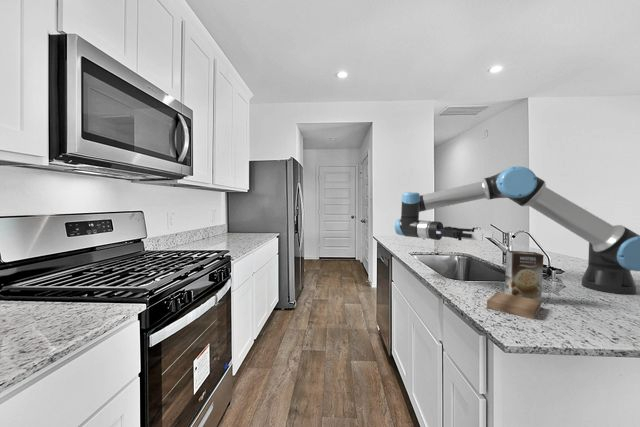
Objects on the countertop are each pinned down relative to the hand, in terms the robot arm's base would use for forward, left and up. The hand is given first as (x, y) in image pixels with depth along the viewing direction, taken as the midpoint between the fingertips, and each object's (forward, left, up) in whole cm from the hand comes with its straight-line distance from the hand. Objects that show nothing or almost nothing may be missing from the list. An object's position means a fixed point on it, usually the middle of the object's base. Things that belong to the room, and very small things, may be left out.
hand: (488, 235), depth 107 cm
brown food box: (-11, 0, -21) cm, 24 cm away
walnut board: (-11, +13, -21) cm, 27 cm away
